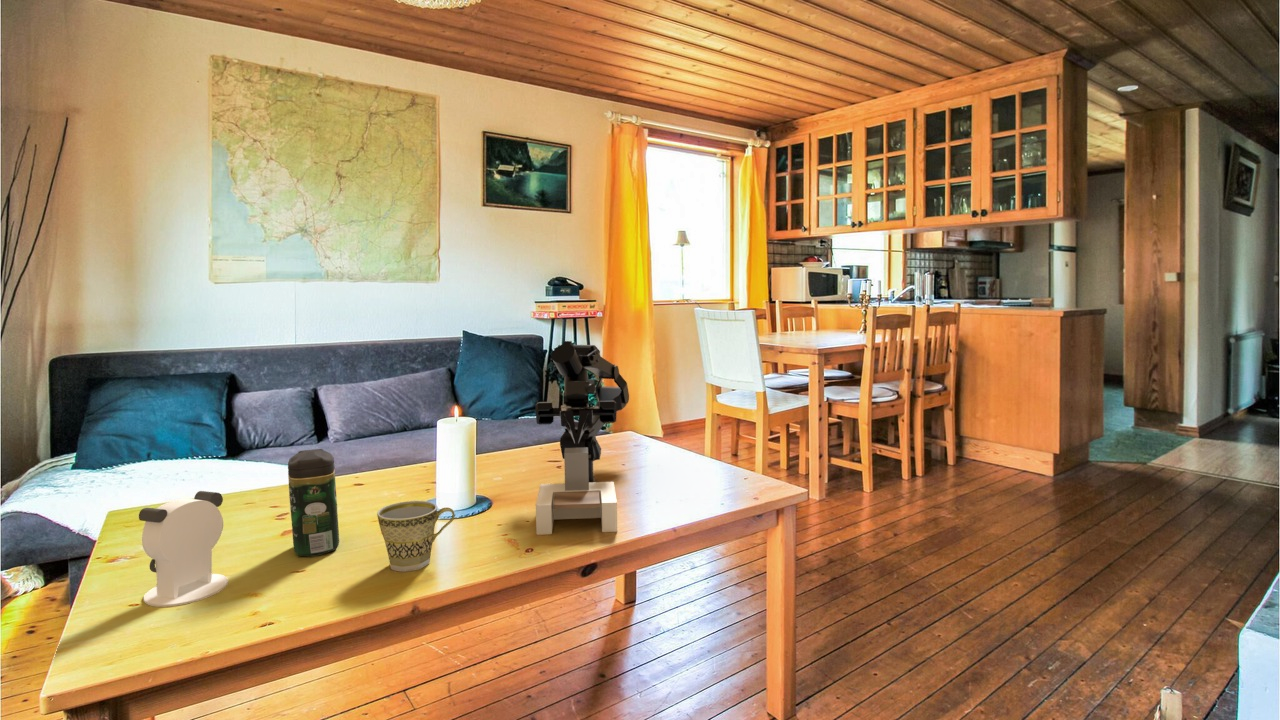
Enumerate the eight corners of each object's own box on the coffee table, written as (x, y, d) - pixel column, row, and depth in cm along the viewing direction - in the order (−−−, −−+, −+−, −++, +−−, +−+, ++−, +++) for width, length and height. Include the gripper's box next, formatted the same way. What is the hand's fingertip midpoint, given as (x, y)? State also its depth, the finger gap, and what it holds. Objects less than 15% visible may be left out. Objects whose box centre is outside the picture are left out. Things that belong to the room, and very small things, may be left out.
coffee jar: (293, 543, 128) (287, 448, 126) (338, 536, 132) (333, 444, 130) (292, 561, 120) (285, 460, 118) (340, 553, 123) (335, 455, 121)
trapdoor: (554, 495, 140) (554, 491, 140) (598, 494, 141) (598, 490, 141) (553, 508, 131) (553, 505, 131) (599, 507, 132) (599, 503, 132)
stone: (565, 483, 146) (564, 448, 145) (588, 483, 146) (587, 447, 145) (565, 490, 141) (564, 453, 140) (588, 489, 141) (588, 452, 140)
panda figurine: (196, 570, 116) (189, 486, 115) (247, 578, 113) (241, 492, 111) (125, 601, 105) (117, 508, 103) (180, 610, 101) (172, 515, 100)
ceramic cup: (381, 580, 112) (378, 522, 111) (378, 558, 121) (375, 505, 120) (460, 567, 117) (458, 511, 116) (452, 547, 126) (450, 495, 125)
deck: (540, 510, 146) (540, 484, 146) (613, 508, 148) (613, 481, 147) (536, 534, 132) (535, 505, 131) (617, 531, 133) (616, 502, 133)
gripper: (534, 367, 154) (532, 424, 144) (615, 366, 155) (618, 422, 146) (538, 396, 162) (535, 451, 153) (614, 394, 164) (617, 449, 154)
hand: (576, 443), depth 151 cm, fingers closed
